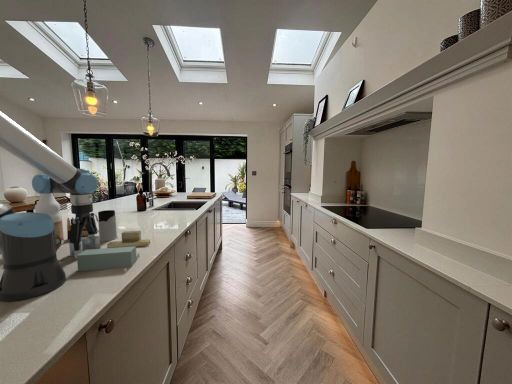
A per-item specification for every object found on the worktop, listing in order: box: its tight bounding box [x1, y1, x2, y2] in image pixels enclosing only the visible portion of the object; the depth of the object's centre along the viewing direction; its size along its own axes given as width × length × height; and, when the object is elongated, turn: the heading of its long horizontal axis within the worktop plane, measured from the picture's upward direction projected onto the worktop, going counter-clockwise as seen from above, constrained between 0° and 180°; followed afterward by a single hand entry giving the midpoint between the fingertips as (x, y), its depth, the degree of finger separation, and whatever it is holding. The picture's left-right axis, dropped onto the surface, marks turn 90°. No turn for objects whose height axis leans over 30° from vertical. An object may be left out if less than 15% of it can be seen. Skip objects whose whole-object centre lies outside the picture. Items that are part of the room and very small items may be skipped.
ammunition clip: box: [66, 216, 90, 241], centre depth 120 cm, size 11×2×12 cm, turn 122°
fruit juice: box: [34, 193, 65, 246], centre depth 107 cm, size 9×9×28 cm
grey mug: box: [94, 209, 119, 242], centre depth 119 cm, size 9×14×15 cm, turn 89°
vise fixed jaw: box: [76, 246, 141, 272], centre depth 87 cm, size 10×18×6 cm, turn 102°
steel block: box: [68, 235, 101, 257], centre depth 98 cm, size 4×10×7 cm, turn 102°
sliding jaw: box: [106, 230, 151, 248], centre depth 109 cm, size 7×18×6 cm, turn 102°
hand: (86, 252), depth 99 cm, fingers open, 10 cm apart
